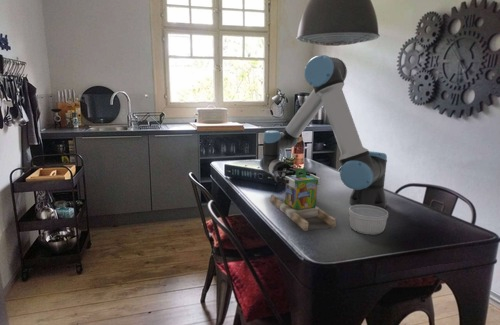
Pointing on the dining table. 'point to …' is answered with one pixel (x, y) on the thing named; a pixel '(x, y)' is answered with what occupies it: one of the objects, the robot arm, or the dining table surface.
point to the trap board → (305, 216)
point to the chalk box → (301, 191)
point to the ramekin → (367, 219)
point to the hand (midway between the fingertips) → (306, 182)
